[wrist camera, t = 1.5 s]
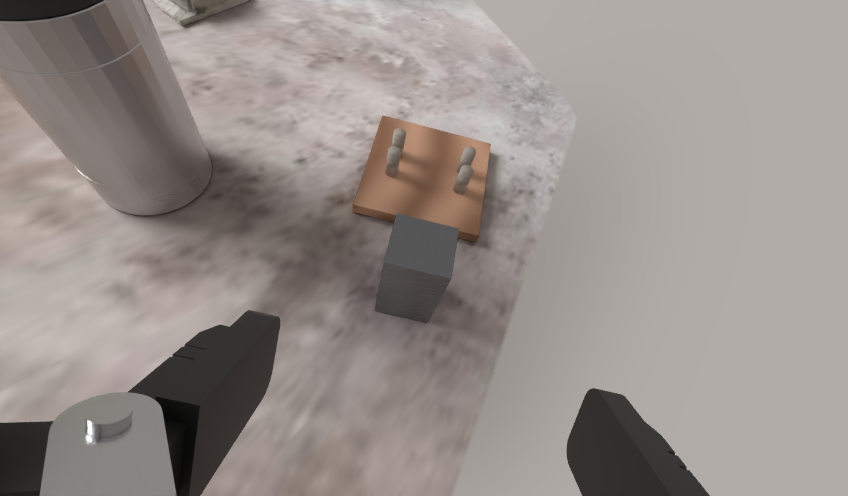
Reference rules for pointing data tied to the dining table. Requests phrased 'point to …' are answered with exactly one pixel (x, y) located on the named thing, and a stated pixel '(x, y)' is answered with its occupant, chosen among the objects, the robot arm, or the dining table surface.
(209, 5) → the packaged product
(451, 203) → the wooden peg holder
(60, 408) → the dining table surface
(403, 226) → the block
